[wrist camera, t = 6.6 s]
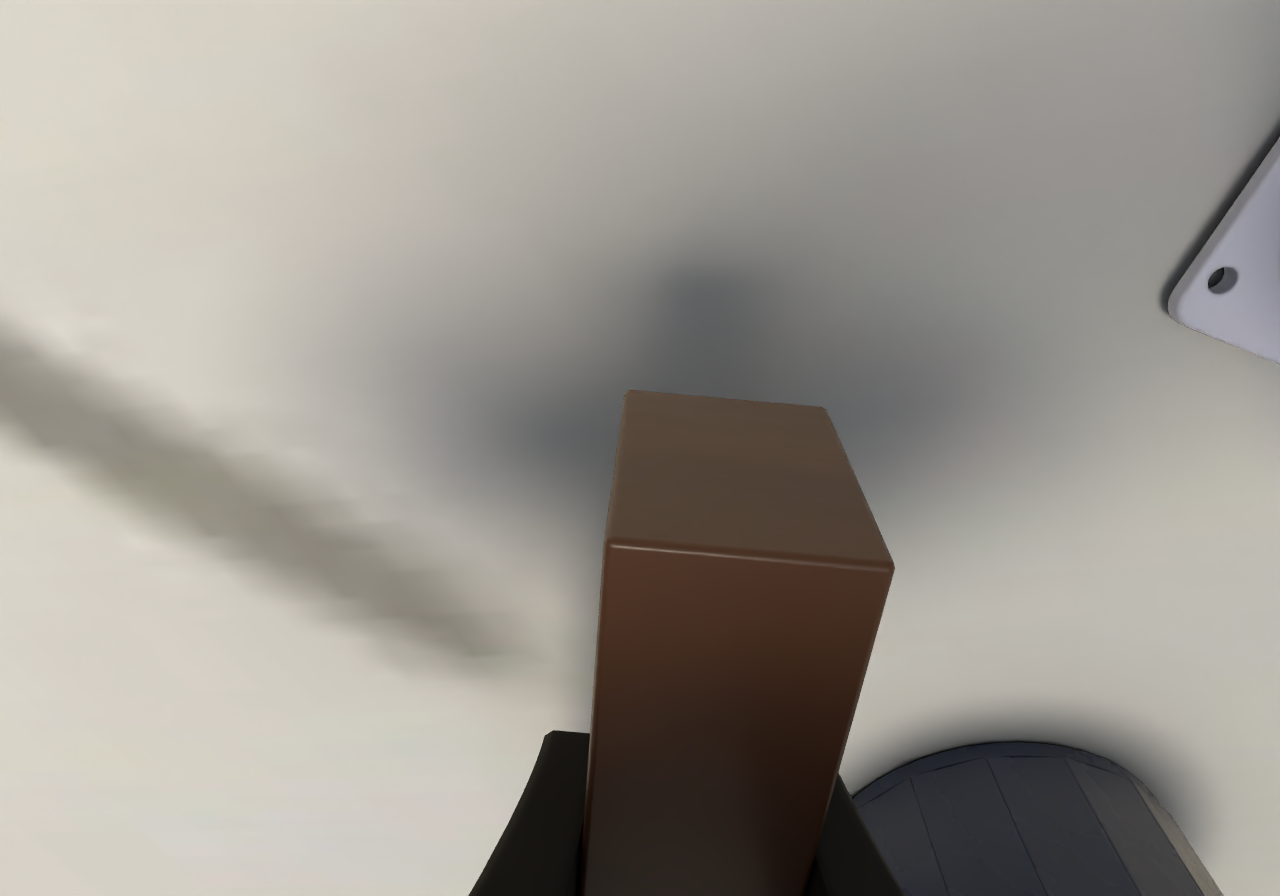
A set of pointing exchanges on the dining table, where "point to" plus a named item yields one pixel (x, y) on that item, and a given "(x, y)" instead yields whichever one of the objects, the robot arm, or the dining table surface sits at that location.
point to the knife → (725, 647)
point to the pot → (1027, 827)
